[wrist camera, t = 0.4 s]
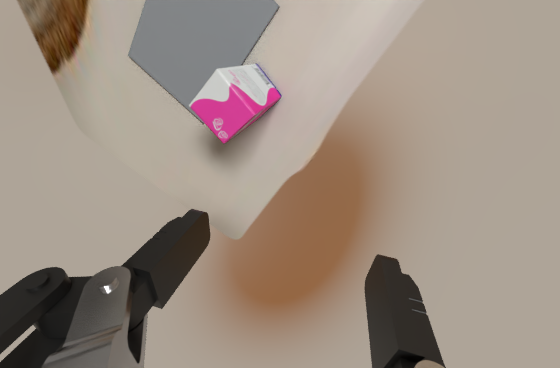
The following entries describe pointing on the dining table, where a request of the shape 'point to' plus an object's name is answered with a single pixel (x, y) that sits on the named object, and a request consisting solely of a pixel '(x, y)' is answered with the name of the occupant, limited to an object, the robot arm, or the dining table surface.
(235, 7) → the rubber mat
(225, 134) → the supplement box
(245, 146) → the dining table surface
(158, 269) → the robot arm
